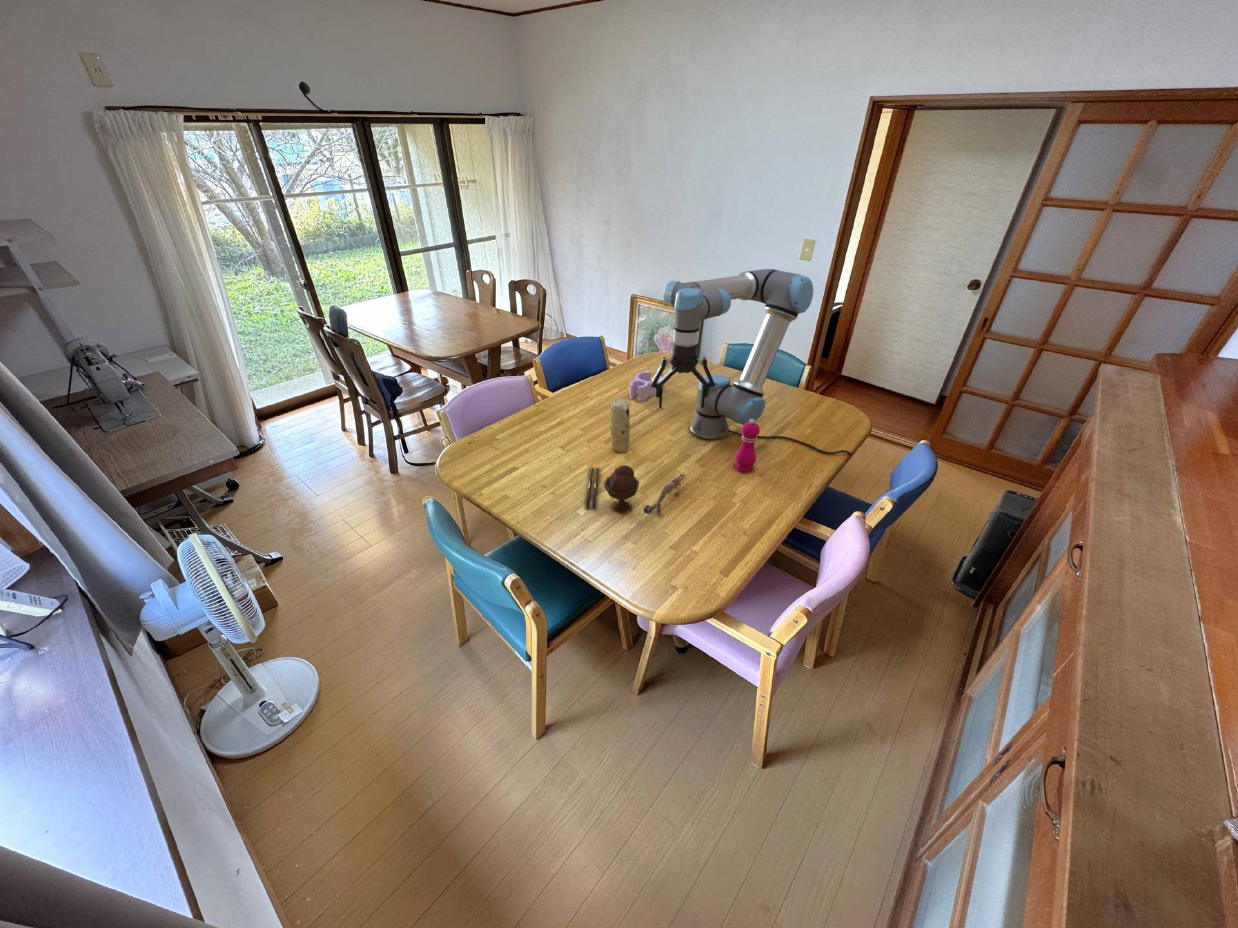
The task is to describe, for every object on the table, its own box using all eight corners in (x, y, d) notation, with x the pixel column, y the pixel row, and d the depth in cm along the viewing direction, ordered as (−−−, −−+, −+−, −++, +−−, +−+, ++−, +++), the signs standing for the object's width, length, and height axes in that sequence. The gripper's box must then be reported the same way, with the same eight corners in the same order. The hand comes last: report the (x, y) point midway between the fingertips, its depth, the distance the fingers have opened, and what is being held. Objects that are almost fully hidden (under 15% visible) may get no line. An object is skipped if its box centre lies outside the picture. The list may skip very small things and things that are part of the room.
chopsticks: (598, 469, 174) (598, 467, 173) (595, 509, 155) (594, 507, 154) (590, 469, 174) (590, 467, 173) (586, 509, 155) (585, 507, 154)
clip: (646, 403, 217) (646, 389, 213) (622, 397, 223) (622, 383, 219) (666, 387, 231) (667, 374, 227) (644, 381, 237) (644, 368, 233)
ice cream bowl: (603, 497, 160) (602, 460, 151) (636, 496, 160) (637, 458, 152) (605, 518, 151) (604, 479, 142) (640, 516, 152) (641, 477, 143)
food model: (633, 452, 183) (634, 405, 172) (617, 456, 181) (616, 408, 170) (623, 440, 190) (623, 394, 179) (607, 443, 188) (606, 397, 177)
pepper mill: (742, 475, 170) (751, 426, 159) (729, 465, 175) (737, 417, 164) (758, 470, 173) (768, 421, 162) (745, 460, 178) (753, 412, 167)
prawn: (671, 478, 169) (672, 461, 165) (701, 489, 163) (703, 472, 159) (630, 515, 152) (631, 497, 148) (662, 529, 146) (663, 511, 143)
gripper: (724, 338, 148) (717, 400, 160) (643, 339, 148) (642, 401, 160) (729, 347, 142) (721, 411, 154) (644, 347, 142) (643, 411, 154)
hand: (681, 406), depth 157 cm, fingers open, 13 cm apart
